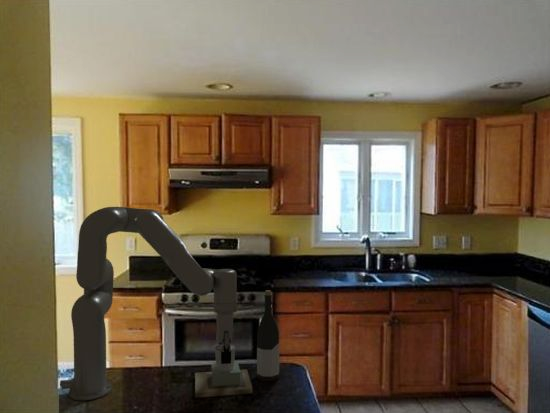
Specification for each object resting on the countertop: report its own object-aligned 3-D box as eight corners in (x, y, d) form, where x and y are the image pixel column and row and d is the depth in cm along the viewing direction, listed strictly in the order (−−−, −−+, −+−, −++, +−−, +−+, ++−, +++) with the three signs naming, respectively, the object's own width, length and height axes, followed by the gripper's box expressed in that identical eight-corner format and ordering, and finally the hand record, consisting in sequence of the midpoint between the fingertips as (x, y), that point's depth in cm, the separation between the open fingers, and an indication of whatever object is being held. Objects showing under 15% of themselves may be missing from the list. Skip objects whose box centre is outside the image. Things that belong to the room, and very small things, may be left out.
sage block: (212, 386, 140) (212, 374, 140) (211, 375, 149) (211, 363, 149) (240, 384, 142) (240, 372, 142) (237, 373, 150) (237, 362, 150)
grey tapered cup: (236, 364, 148) (236, 343, 148) (234, 372, 142) (234, 350, 141) (216, 364, 148) (215, 343, 148) (213, 372, 142) (213, 350, 141)
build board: (195, 397, 136) (195, 392, 136) (195, 377, 151) (195, 372, 151) (252, 393, 139) (252, 388, 139) (246, 373, 155) (246, 368, 155)
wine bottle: (263, 370, 157) (263, 287, 157) (283, 374, 154) (283, 289, 153) (252, 378, 150) (252, 291, 150) (273, 383, 146) (273, 294, 146)
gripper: (212, 301, 153) (212, 349, 153) (215, 314, 136) (214, 368, 136) (234, 300, 154) (234, 348, 154) (239, 313, 137) (238, 367, 137)
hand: (225, 357), depth 145 cm, fingers open, 9 cm apart
